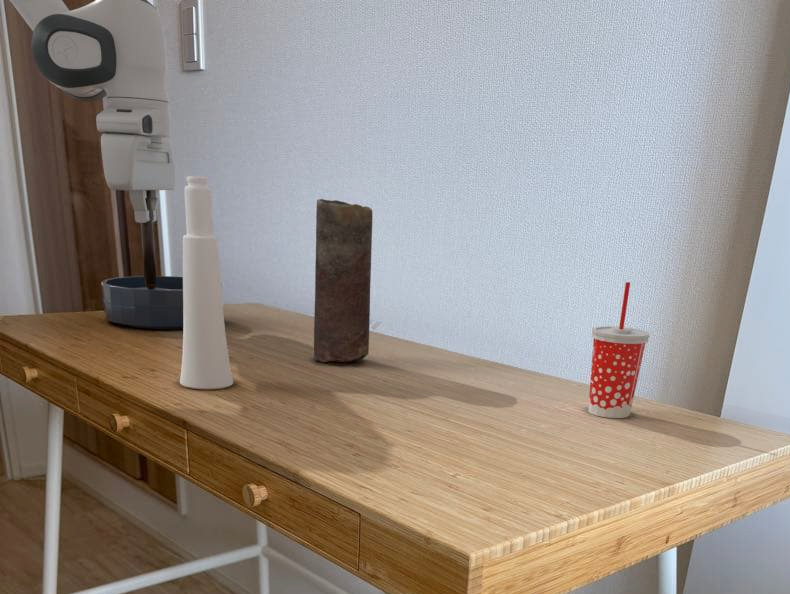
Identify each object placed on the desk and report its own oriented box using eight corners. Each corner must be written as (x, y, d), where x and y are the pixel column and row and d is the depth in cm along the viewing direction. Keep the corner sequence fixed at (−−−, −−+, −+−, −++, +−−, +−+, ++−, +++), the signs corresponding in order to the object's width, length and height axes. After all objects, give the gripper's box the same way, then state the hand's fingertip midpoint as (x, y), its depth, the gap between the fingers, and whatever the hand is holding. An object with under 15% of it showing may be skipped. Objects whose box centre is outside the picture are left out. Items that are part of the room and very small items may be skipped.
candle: (335, 352, 117) (338, 199, 109) (379, 360, 113) (385, 202, 105) (302, 360, 111) (302, 198, 103) (347, 369, 107) (351, 201, 99)
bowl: (85, 326, 126) (81, 285, 124) (131, 309, 143) (128, 273, 140) (203, 334, 125) (201, 293, 123) (235, 316, 142) (234, 279, 139)
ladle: (127, 310, 131) (117, 181, 124) (141, 305, 137) (132, 181, 129) (164, 312, 131) (156, 183, 124) (176, 307, 137) (170, 183, 129)
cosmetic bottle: (191, 391, 92) (179, 176, 84) (172, 380, 97) (159, 174, 88) (241, 387, 95) (235, 178, 87) (221, 376, 100) (213, 177, 91)
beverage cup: (602, 403, 97) (620, 278, 91) (647, 414, 93) (669, 284, 87) (569, 410, 93) (586, 280, 87) (616, 423, 89) (636, 287, 83)
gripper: (144, 126, 133) (150, 218, 138) (90, 116, 114) (99, 223, 120) (183, 128, 133) (187, 220, 138) (135, 119, 114) (142, 226, 119)
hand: (146, 222), depth 129 cm, fingers closed on ladle
